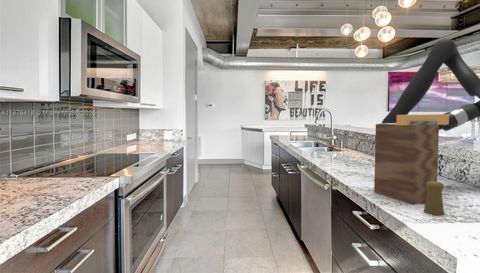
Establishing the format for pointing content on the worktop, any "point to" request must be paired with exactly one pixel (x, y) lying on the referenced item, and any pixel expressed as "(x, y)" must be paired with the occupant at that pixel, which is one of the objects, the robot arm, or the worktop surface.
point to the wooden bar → (422, 118)
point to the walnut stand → (406, 160)
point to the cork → (434, 198)
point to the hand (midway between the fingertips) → (417, 133)
